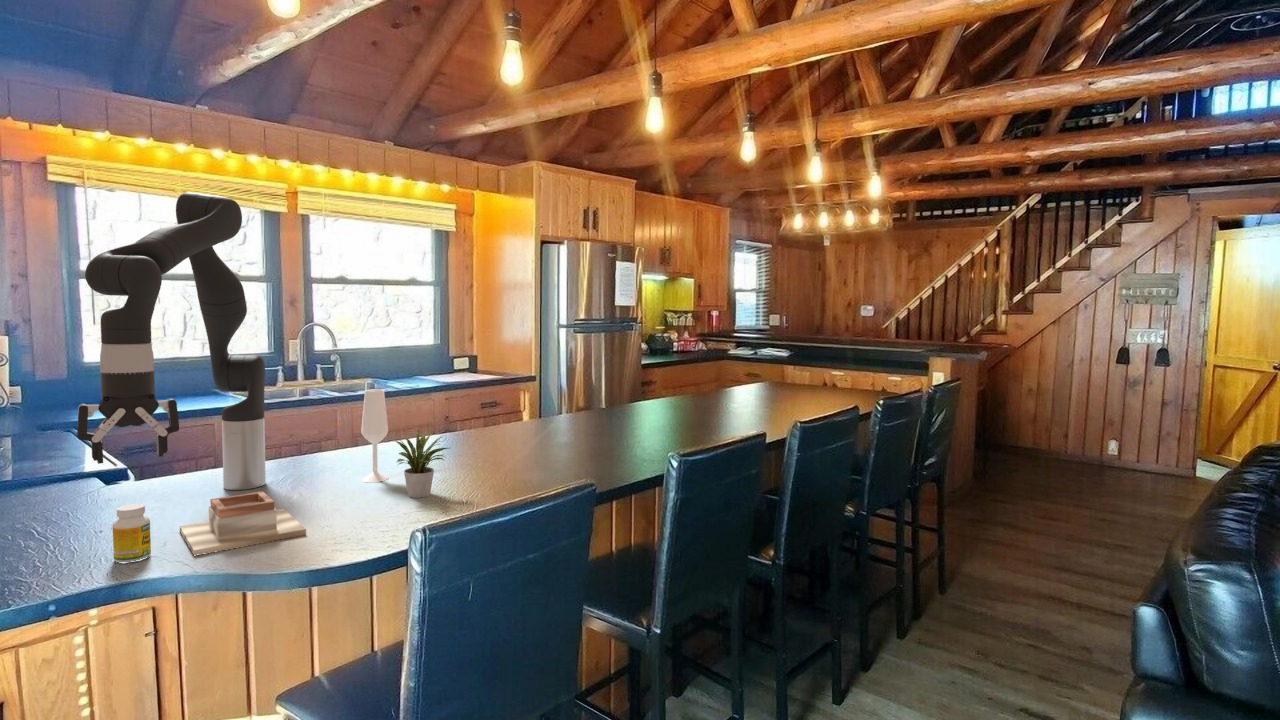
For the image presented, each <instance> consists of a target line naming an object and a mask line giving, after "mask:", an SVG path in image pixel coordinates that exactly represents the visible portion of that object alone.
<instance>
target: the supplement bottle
mask: <svg viewBox="0 0 1280 720" xmlns="http://www.w3.org/2000/svg"><path fill="white" fill-rule="evenodd" d="M145 513H146V505H145V504H142V503H131V504H124V505H121V506H119V507H117V508H116V517H117V518H116V519H115V520H114V521H113V523H112V541H113V543H112V545H113V548H112V549H113V561H114V562H115V561H117V562H131V561H136V560H140V559H143V558H146V557H148V556H149V557H151V555H152V546H151V541H152V540H151V520H150V517H149V516H148V515H146V514H145ZM149 557H148V558H149ZM117 562H116V563H117Z"/></svg>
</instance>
